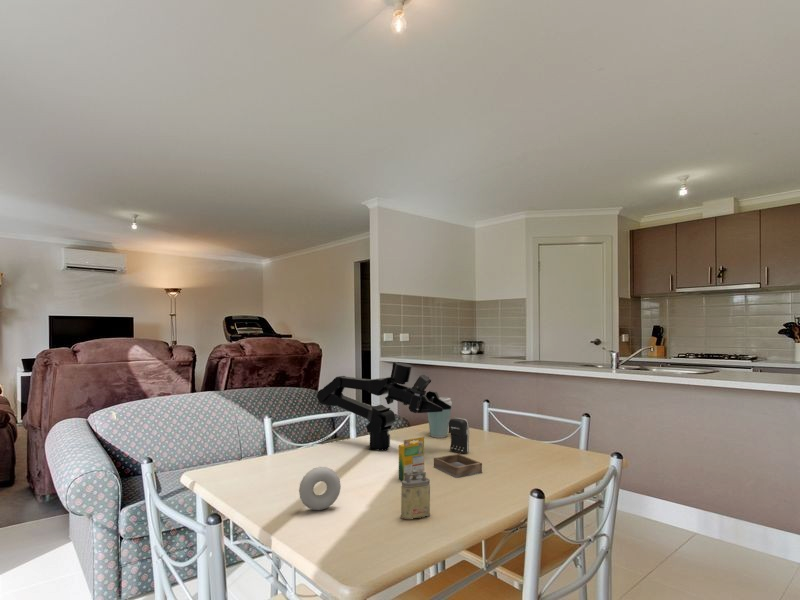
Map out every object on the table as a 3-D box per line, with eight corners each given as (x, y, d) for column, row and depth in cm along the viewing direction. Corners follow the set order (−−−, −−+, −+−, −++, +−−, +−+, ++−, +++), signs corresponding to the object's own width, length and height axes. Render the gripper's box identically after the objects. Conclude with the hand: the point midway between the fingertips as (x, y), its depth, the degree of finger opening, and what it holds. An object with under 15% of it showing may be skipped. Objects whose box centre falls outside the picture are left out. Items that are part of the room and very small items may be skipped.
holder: (456, 477, 134) (456, 467, 134) (433, 466, 144) (433, 457, 144) (482, 472, 138) (481, 463, 139) (458, 462, 149) (458, 453, 149)
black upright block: (446, 451, 162) (446, 418, 162) (453, 449, 165) (453, 416, 165) (463, 455, 157) (463, 421, 158) (469, 453, 160) (469, 419, 160)
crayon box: (418, 474, 136) (419, 434, 137) (424, 477, 134) (425, 437, 134) (397, 479, 132) (398, 437, 133) (403, 482, 130) (404, 440, 130)
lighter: (426, 510, 110) (426, 468, 110) (433, 517, 106) (433, 472, 107) (398, 515, 107) (398, 471, 108) (404, 521, 104) (405, 476, 104)
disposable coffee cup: (423, 438, 180) (423, 399, 181) (427, 432, 190) (428, 395, 191) (450, 440, 177) (450, 400, 178) (453, 433, 188) (453, 396, 189)
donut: (338, 504, 113) (338, 462, 114) (342, 509, 110) (342, 466, 111) (297, 510, 110) (298, 467, 110) (300, 515, 106) (300, 471, 107)
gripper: (400, 372, 153) (444, 386, 146) (420, 372, 170) (460, 384, 163) (392, 405, 152) (435, 420, 146) (412, 401, 169) (452, 415, 163)
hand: (446, 408), depth 154 cm, fingers open, 9 cm apart
